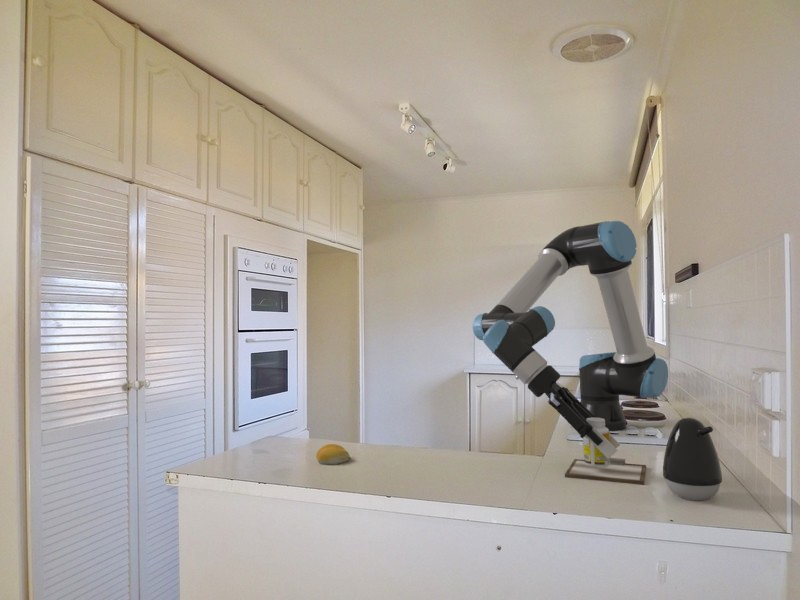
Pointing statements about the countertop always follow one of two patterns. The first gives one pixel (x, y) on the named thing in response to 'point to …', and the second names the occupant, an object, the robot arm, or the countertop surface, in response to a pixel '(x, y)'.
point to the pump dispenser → (692, 461)
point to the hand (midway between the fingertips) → (614, 451)
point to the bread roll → (332, 454)
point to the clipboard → (608, 471)
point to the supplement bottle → (591, 452)
